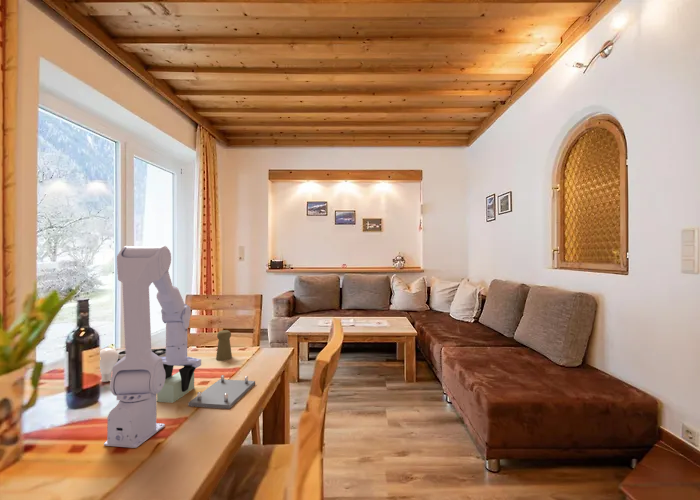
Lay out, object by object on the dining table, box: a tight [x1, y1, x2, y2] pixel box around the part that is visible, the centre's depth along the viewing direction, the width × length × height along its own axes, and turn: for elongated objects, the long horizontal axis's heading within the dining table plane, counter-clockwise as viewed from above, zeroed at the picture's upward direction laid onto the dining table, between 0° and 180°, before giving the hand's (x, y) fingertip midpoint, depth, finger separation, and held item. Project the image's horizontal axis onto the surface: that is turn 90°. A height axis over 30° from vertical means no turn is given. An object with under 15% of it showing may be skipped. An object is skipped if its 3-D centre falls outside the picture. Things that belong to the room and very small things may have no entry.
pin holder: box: [187, 374, 256, 410], centre depth 99 cm, size 17×12×3 cm
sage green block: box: [157, 371, 195, 404], centre depth 99 cm, size 10×5×5 cm, turn 173°
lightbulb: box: [99, 347, 119, 383], centre depth 108 cm, size 6×6×11 cm
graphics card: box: [115, 347, 166, 363], centre depth 133 cm, size 10×3×25 cm
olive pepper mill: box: [215, 329, 233, 362], centre depth 133 cm, size 6×6×11 cm
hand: (176, 389), depth 99 cm, fingers closed on sage green block, 5 cm apart
